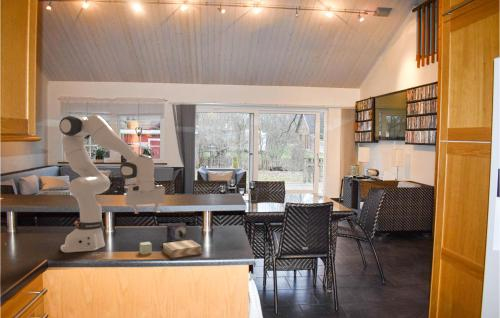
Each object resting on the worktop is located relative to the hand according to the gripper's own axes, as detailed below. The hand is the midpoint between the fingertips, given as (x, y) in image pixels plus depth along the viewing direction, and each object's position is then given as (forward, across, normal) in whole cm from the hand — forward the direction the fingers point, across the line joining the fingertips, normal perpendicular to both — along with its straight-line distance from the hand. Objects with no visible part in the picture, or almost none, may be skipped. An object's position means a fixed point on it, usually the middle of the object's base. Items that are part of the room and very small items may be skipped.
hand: (145, 212), depth 219 cm
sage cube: (+21, 0, 0) cm, 21 cm away
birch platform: (+21, -17, +8) cm, 28 cm away
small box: (+21, -21, -12) cm, 32 cm away
